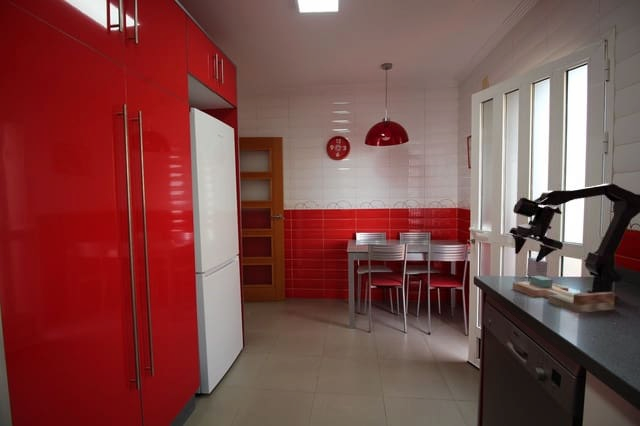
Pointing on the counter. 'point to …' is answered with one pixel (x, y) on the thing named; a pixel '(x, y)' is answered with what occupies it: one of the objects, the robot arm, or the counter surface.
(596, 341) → the counter surface
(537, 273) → the medicine box
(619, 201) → the robot arm
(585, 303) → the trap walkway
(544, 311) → the counter surface
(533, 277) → the teal block
